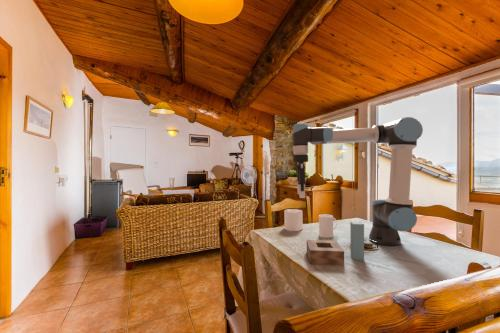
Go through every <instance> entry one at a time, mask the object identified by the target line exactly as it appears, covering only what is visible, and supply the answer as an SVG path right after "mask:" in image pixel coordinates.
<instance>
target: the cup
mask: <svg viewBox="0 0 500 333" xmlns="http://www.w3.org/2000/svg"><path fill="white" fill-rule="evenodd" d="M283 213H284V216H283V217H284V219H283V220H284V230H286V231H288V232H301V231H302V230H303V227H304V226H303V222H304V221H303V210H302V209H297V208H287V209H284V212H283ZM300 230H301V231H300Z"/></svg>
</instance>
